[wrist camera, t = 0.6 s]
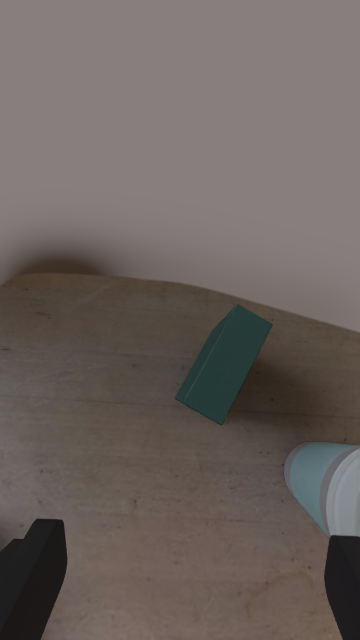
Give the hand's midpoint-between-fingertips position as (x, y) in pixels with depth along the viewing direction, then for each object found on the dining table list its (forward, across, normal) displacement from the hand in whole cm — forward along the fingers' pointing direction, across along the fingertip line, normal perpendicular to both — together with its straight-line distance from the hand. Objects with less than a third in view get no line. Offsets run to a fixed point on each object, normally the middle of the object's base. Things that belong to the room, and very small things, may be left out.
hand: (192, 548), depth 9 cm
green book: (+22, -1, +3) cm, 22 cm away
